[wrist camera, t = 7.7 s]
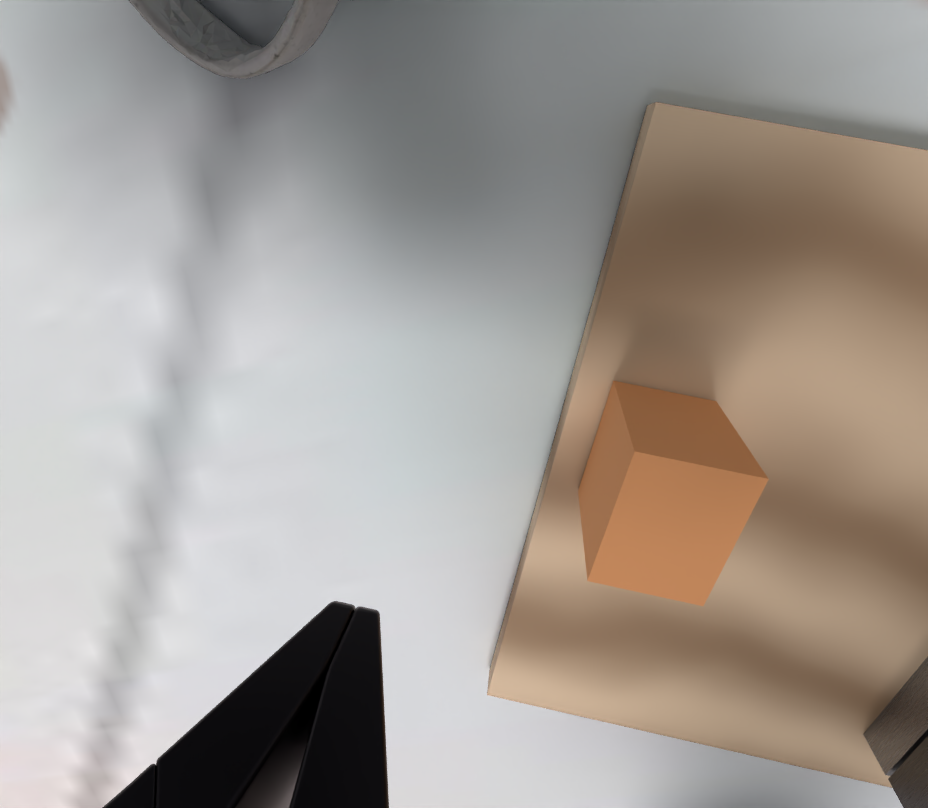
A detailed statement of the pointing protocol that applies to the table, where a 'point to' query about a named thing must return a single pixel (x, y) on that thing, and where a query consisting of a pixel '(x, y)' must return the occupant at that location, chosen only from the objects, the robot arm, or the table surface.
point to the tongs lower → (901, 723)
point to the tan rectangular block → (665, 493)
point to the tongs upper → (913, 778)
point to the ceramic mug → (234, 35)
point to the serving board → (752, 446)
